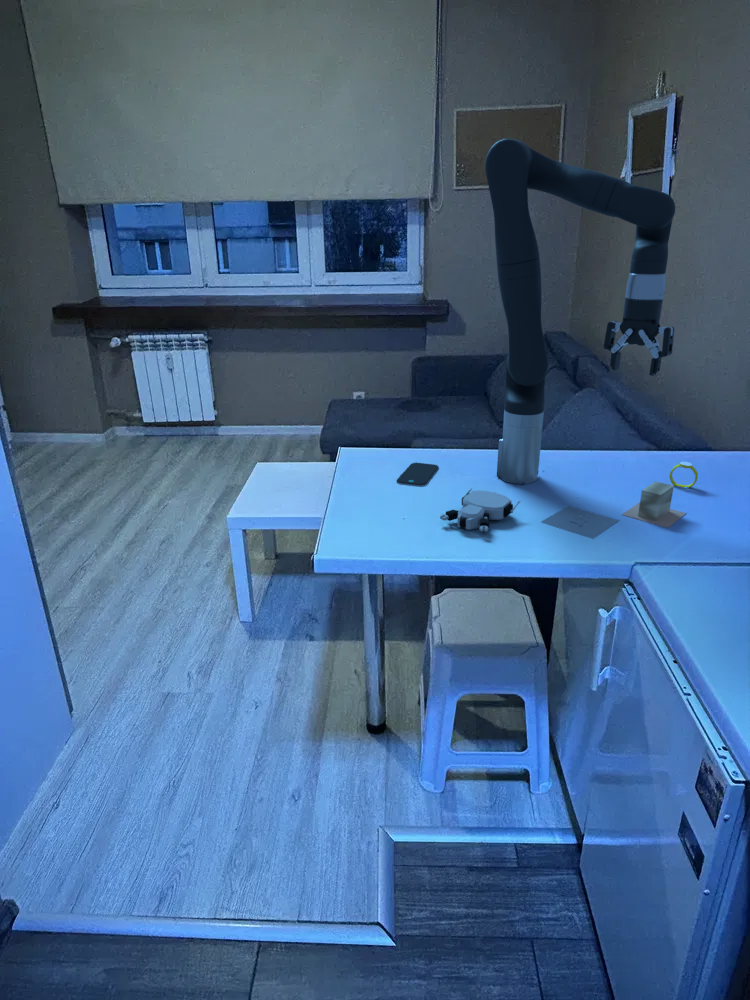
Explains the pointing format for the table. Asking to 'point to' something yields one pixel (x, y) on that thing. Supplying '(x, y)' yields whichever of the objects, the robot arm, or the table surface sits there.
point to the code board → (580, 521)
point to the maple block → (655, 501)
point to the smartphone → (417, 474)
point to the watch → (684, 465)
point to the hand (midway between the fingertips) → (633, 372)
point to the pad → (663, 521)
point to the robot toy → (480, 509)
